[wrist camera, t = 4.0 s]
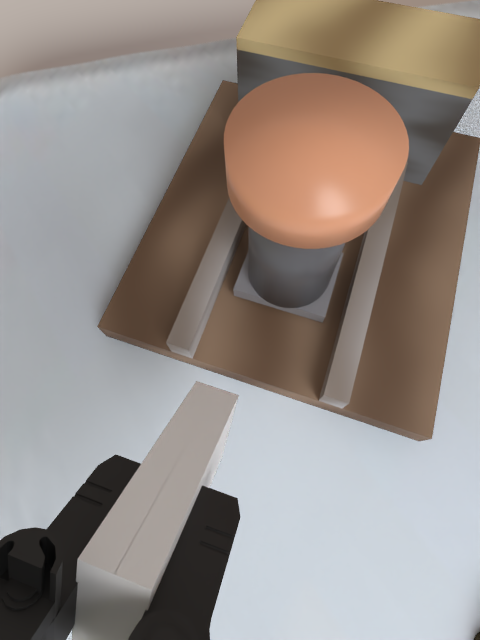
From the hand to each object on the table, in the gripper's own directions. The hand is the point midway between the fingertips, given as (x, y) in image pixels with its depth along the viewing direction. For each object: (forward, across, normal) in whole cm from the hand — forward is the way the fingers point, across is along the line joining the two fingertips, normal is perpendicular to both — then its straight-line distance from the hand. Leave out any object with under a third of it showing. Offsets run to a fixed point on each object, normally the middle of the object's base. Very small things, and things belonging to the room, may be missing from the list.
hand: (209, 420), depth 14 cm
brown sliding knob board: (+15, +1, +4) cm, 15 cm away
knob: (+11, +1, +2) cm, 11 cm away
